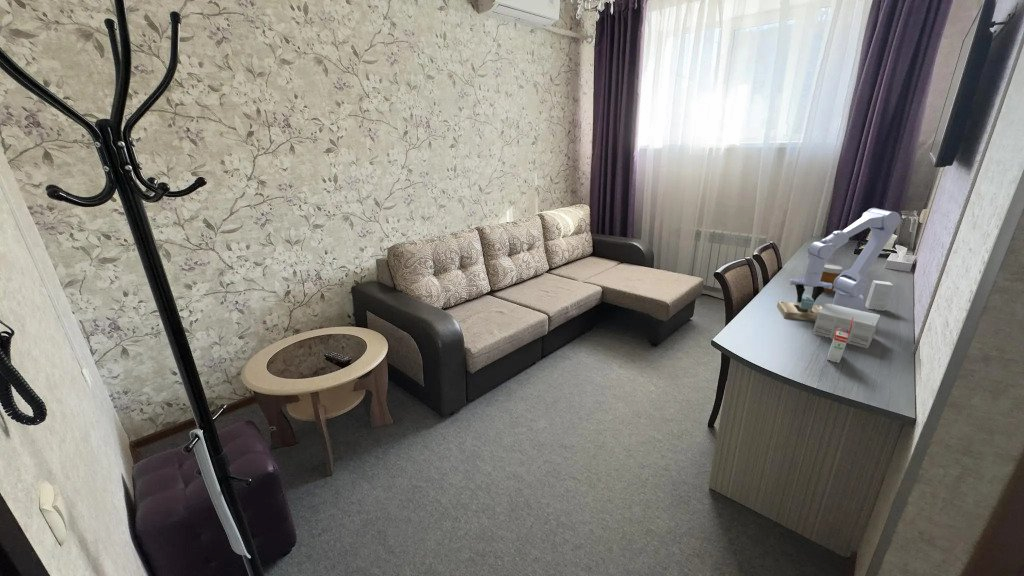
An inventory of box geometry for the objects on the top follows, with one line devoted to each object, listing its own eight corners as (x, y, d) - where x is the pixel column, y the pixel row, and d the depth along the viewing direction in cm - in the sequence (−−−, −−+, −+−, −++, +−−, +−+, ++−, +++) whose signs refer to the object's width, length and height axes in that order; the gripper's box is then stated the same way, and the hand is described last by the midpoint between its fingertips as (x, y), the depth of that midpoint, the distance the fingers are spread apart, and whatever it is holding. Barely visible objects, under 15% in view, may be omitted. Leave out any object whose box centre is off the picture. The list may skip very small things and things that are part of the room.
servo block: (806, 302, 176) (809, 292, 174) (813, 310, 168) (816, 300, 166) (795, 301, 177) (798, 290, 175) (801, 309, 169) (804, 298, 167)
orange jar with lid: (815, 291, 198) (822, 267, 194) (810, 285, 206) (816, 262, 202) (839, 294, 195) (846, 270, 191) (833, 287, 203) (840, 264, 199)
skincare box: (881, 307, 181) (890, 282, 176) (884, 311, 177) (894, 285, 173) (864, 305, 183) (872, 279, 179) (867, 308, 179) (875, 283, 175)
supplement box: (873, 337, 155) (881, 314, 152) (867, 349, 147) (876, 325, 143) (819, 323, 166) (826, 301, 163) (811, 333, 158) (818, 311, 155)
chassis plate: (819, 311, 177) (820, 305, 176) (829, 323, 166) (831, 316, 165) (776, 306, 181) (778, 300, 180) (783, 317, 171) (785, 311, 170)
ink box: (826, 360, 139) (838, 321, 134) (828, 351, 145) (840, 313, 140) (839, 363, 137) (853, 324, 132) (841, 354, 143) (854, 316, 138)
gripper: (831, 270, 168) (822, 301, 173) (790, 266, 173) (782, 296, 177) (837, 276, 162) (828, 307, 167) (795, 271, 166) (787, 302, 171)
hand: (805, 302), depth 172 cm, fingers closed on servo block, 4 cm apart
